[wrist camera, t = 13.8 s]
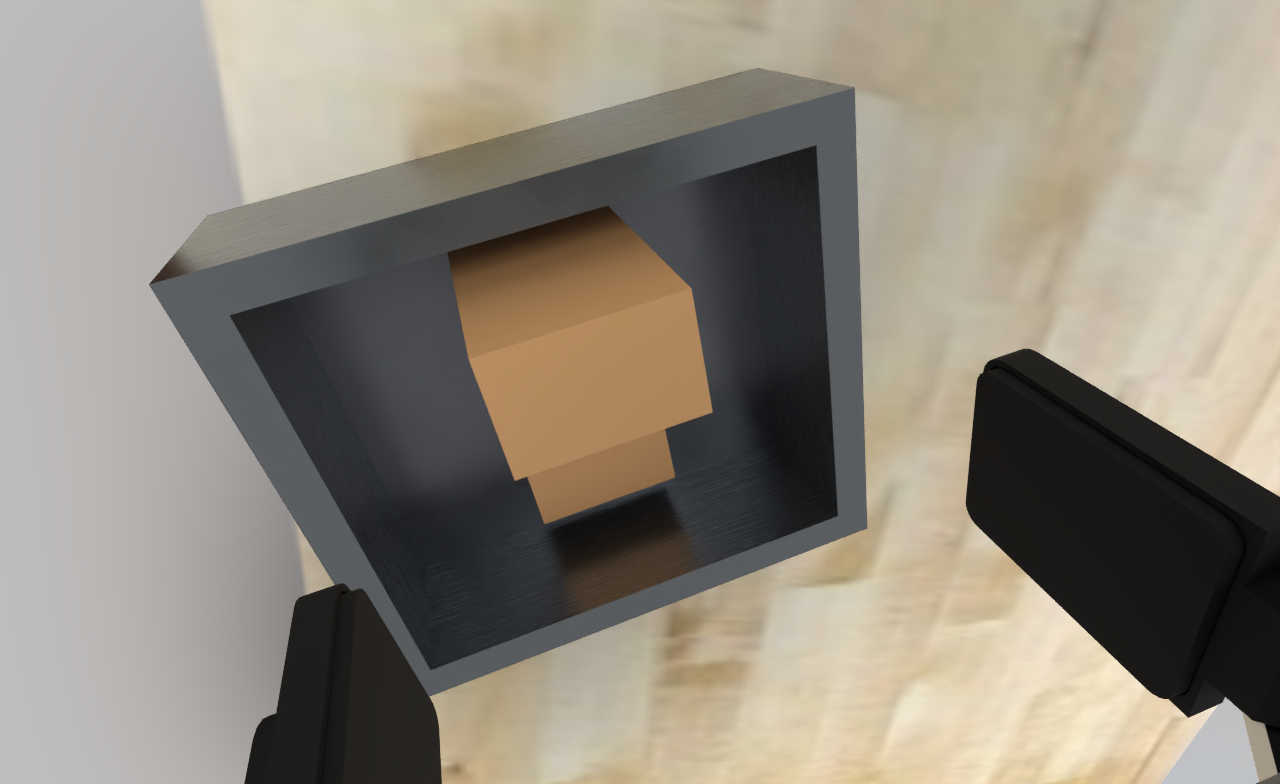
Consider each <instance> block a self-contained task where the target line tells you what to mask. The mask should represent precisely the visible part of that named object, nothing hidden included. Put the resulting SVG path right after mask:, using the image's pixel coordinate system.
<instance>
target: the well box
mask: <svg viewBox="0 0 1280 784" xmlns="http://www.w3.org/2000/svg"><path fill="white" fill-rule="evenodd" d="M604 206H609V207H610V208H611V209H612V210H613V211H614V212H615V213H616V214H617V215H618V216H619V217H620V218H621V219H622V220H623V221H624V222H625V223H626V224H627V225H628V226H629V227H630V228H631V229H632V230H633V231H634V232H635V233H636V234H637V235H638V236H639V237H640V238H641V239H642V240H643V241H644V242H645V243H646V244H647V245H648V246H649V247H650V248H651V249H652V250H653V251H654V252H655V253H656V254H657V255H658V256H659V257H660V258H661V259H662V260H663V261H664V262H665V263H666V264H667V265H668V266H669V267H670V268H671V269H672V270H673V271H674V272H675V273H676V274H677V275H678V276H679V277H680V278H681V279H682V280H683V281H684V282H685V283H686V284H687V285H688V286H689V287H690V288H691V289H692V294H693V300H694V306H695V311H696V317H697V323H698V329H699V335H700V341H701V346H702V352H703V358H704V364H705V370H706V376H707V381H708V387H709V393H710V399H711V405H712V411H713V412H712V413H709V414H706V415H703V416H701V417H698V418H695V419H692V420H689V421H686V422H683V423H680V424H677V425H675V426H672V427H669V428H666V429H665V432H666V437H667V441H668V446H669V450H670V455H671V459H672V464H673V468H674V473H675V478H672V479H669V480H667V481H664V482H661V483H658V484H655V485H653V486H650V487H647V488H644V489H641V490H639V491H636V492H633V493H630V494H627V495H625V496H622V497H619V498H616V499H614V500H611V501H608V502H605V503H602V504H600V505H597V506H594V507H591V508H588V509H586V510H583V511H580V512H577V513H574V514H572V515H569V516H566V517H563V518H560V519H558V520H555V521H552V522H549V523H546V524H544V521H543V518H542V516H541V513H540V510H539V507H538V505H537V502H536V499H535V497H534V494H533V491H532V488H531V486H530V483H529V480H528V477H524V478H521V479H519V480H516V481H515V480H514V477H513V475H512V472H511V469H510V467H509V464H508V461H507V459H506V456H505V454H504V451H503V448H502V446H501V443H500V440H499V438H498V435H497V433H496V430H495V427H494V425H493V422H492V419H491V417H490V414H489V411H488V409H487V406H486V404H485V401H484V398H483V396H482V393H481V390H480V388H479V385H478V383H477V380H476V377H475V375H474V372H473V369H472V367H471V364H470V361H469V358H468V353H467V348H466V343H465V339H464V334H463V329H462V324H461V319H460V314H459V309H458V304H457V299H456V294H455V289H454V284H453V279H452V274H451V269H450V264H449V259H448V254H447V252H449V251H453V250H456V249H460V248H463V247H467V246H470V245H473V244H477V243H480V242H484V241H487V240H491V239H494V238H498V237H501V236H504V235H508V234H511V233H515V232H518V231H522V230H525V229H529V228H532V227H536V226H539V225H542V224H546V223H549V222H553V221H556V220H560V219H563V218H567V217H570V216H573V215H577V214H580V213H584V212H587V211H591V210H594V209H598V208H601V207H604ZM149 285H150V287H151V288H152V290H153V292H154V293H155V295H156V296H157V298H158V300H159V301H160V303H161V305H162V306H163V308H164V310H165V311H166V313H167V314H168V316H169V318H170V319H171V320H172V322H173V324H174V326H175V327H176V329H177V331H178V332H179V334H180V335H181V337H182V338H183V340H184V342H185V343H186V345H187V347H188V348H189V350H190V352H191V353H192V355H193V356H194V357H195V360H196V361H197V363H198V364H199V366H200V367H201V369H202V371H203V372H204V374H205V376H206V377H207V379H208V381H209V382H210V384H211V385H212V387H213V389H214V390H215V392H216V394H217V395H218V397H219V398H220V400H221V402H222V403H223V405H224V406H225V408H226V410H227V411H228V413H229V414H230V416H231V418H232V419H233V421H234V422H235V424H236V426H237V427H238V429H239V431H240V432H241V434H242V436H243V437H244V439H245V440H246V442H247V443H248V445H249V447H250V448H251V450H252V451H253V453H254V455H255V456H256V458H257V460H258V461H259V463H260V465H261V466H262V467H263V469H264V471H265V473H266V474H267V476H268V478H269V479H270V481H271V482H272V484H273V486H274V487H275V489H276V490H277V492H278V494H279V495H280V497H281V498H282V500H283V502H284V503H285V505H286V507H287V508H288V510H289V511H290V513H291V515H292V516H293V518H294V520H295V521H296V523H297V524H298V526H299V528H300V529H301V531H302V532H303V534H304V536H305V537H306V539H307V540H308V542H309V544H310V545H311V547H312V549H313V550H314V552H315V553H316V555H317V557H318V558H319V560H320V561H321V563H322V565H323V566H324V568H325V570H326V571H327V573H328V574H329V576H330V578H331V579H332V581H333V582H334V584H335V585H337V584H341V583H344V584H345V585H347V586H348V588H349V589H350V590H351V591H353V590H356V589H359V588H362V589H363V590H364V591H365V592H366V593H367V595H368V596H369V598H370V600H371V601H372V603H373V605H374V606H375V608H376V610H377V611H378V613H379V615H380V616H381V618H382V620H383V621H384V623H385V625H386V626H387V628H388V630H389V631H390V633H391V635H392V636H393V638H394V639H395V641H396V643H397V644H398V646H399V648H400V649H401V651H402V653H403V654H404V656H405V658H406V659H407V661H408V663H409V664H410V666H411V668H412V669H413V671H414V673H415V674H416V676H417V678H418V679H419V681H420V683H421V684H422V686H423V687H424V689H425V691H426V692H427V694H428V696H432V695H435V694H437V693H440V692H442V691H445V690H448V689H450V688H453V687H455V686H458V685H461V684H463V683H466V682H468V681H471V680H474V679H476V678H479V677H481V676H484V675H487V674H489V673H492V672H494V671H497V670H500V669H502V668H505V667H507V666H510V665H513V664H515V663H518V662H520V661H523V660H526V659H528V658H531V657H533V656H536V655H539V654H541V653H544V652H546V651H549V650H552V649H554V648H557V647H559V646H562V645H565V644H567V643H570V642H572V641H575V640H578V639H580V638H583V637H585V636H588V635H591V634H593V633H596V632H599V631H601V630H604V629H606V628H609V627H612V626H614V625H617V624H619V623H622V622H625V621H627V620H630V619H632V618H635V617H638V616H640V615H643V614H645V613H648V612H651V611H653V610H656V609H658V608H661V607H664V606H666V605H669V604H671V603H674V602H677V601H679V600H682V599H684V598H687V597H690V596H692V595H695V594H697V593H700V592H703V591H705V590H708V589H710V588H713V587H716V586H718V585H721V584H723V583H726V582H729V581H731V580H734V579H736V578H739V577H742V576H744V575H747V574H749V573H752V572H755V571H757V570H760V569H762V568H765V567H768V566H770V565H773V564H775V563H778V562H781V561H783V560H786V559H789V558H791V557H794V556H796V555H799V554H802V553H804V552H807V551H809V550H812V549H815V548H817V547H820V546H822V545H825V544H828V543H830V542H833V541H835V540H838V539H841V538H843V537H846V536H848V535H851V534H854V533H856V532H859V531H861V530H864V529H867V507H866V472H865V437H864V402H863V367H862V333H861V298H860V263H859V228H858V193H857V158H856V123H855V88H854V87H849V86H844V85H839V84H834V83H830V82H825V81H820V80H815V79H810V78H805V77H800V76H795V75H790V74H785V73H780V72H775V71H770V70H765V69H760V68H756V69H752V70H749V71H745V72H741V73H737V74H734V75H730V76H726V77H722V78H719V79H715V80H711V81H708V82H704V83H700V84H696V85H693V86H689V87H685V88H681V89H678V90H674V91H670V92H667V93H663V94H659V95H655V96H652V97H648V98H644V99H640V100H637V101H633V102H629V103H626V104H622V105H618V106H614V107H611V108H607V109H603V110H600V111H596V112H592V113H588V114H585V115H581V116H577V117H573V118H570V119H566V120H562V121H559V122H555V123H551V124H547V125H544V126H540V127H536V128H532V129H529V130H525V131H521V132H518V133H514V134H510V135H506V136H503V137H499V138H495V139H491V140H488V141H484V142H480V143H477V144H473V145H469V146H465V147H462V148H458V149H454V150H450V151H447V152H443V153H439V154H436V155H432V156H428V157H424V158H421V159H417V160H413V161H409V162H406V163H402V164H398V165H395V166H391V167H387V168H383V169H380V170H376V171H372V172H368V173H365V174H361V175H357V176H354V177H350V178H346V179H342V180H339V181H335V182H331V183H327V184H324V185H320V186H316V187H313V188H309V189H305V190H301V191H298V192H294V193H290V194H287V195H283V196H279V197H275V198H272V199H268V200H264V201H260V202H257V203H253V204H249V205H246V206H242V207H238V208H235V209H231V210H227V211H223V212H219V213H216V214H212V215H208V216H207V217H206V218H205V219H204V220H203V222H202V223H201V224H200V225H199V226H198V228H197V229H196V230H195V231H194V232H193V233H192V235H191V236H190V237H189V238H188V239H187V240H186V242H185V243H184V244H183V245H182V246H181V247H180V249H179V250H178V251H177V252H176V254H175V255H174V256H173V257H172V258H171V259H170V260H169V262H168V263H167V264H166V265H165V266H164V267H163V269H162V270H161V271H160V272H159V273H158V274H157V276H156V277H155V278H154V279H153V280H152V282H151V283H150V284H149Z"/></svg>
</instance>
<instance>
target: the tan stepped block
mask: <svg viewBox="0 0 1280 784" xmlns="http://www.w3.org/2000/svg"><path fill="white" fill-rule="evenodd" d="M447 254H448V259H449V264H450V269H451V274H452V279H453V284H454V289H455V294H456V299H457V304H458V309H459V314H460V319H461V324H462V329H463V334H464V339H465V343H466V348H467V353H468V358H469V361H470V364H471V367H472V369H473V372H474V375H475V377H476V380H477V383H478V385H479V388H480V390H481V393H482V396H483V398H484V401H485V404H486V406H487V409H488V411H489V414H490V417H491V419H492V422H493V425H494V427H495V430H496V433H497V435H498V438H499V440H500V443H501V446H502V448H503V451H504V454H505V456H506V459H507V461H508V464H509V467H510V469H511V472H512V475H513V477H514V480H515V481H516V480H519V479H521V478H524V477H528V480H529V483H530V486H531V488H532V491H533V494H534V497H535V499H536V502H537V505H538V507H539V510H540V513H541V516H542V518H543V521H544V524H546V523H549V522H552V521H555V520H558V519H560V518H563V517H566V516H569V515H572V514H574V513H577V512H580V511H583V510H586V509H588V508H591V507H594V506H597V505H600V504H602V503H605V502H608V501H611V500H614V499H616V498H619V497H622V496H625V495H627V494H630V493H633V492H636V491H639V490H641V489H644V488H647V487H650V486H653V485H655V484H658V483H661V482H664V481H667V480H669V479H672V478H675V473H674V468H673V464H672V459H671V455H670V450H669V446H668V441H667V437H666V432H665V429H666V428H669V427H672V426H675V425H677V424H680V423H683V422H686V421H689V420H692V419H695V418H698V417H701V416H703V415H706V414H709V413H712V412H713V411H712V405H711V399H710V393H709V387H708V381H707V376H706V370H705V364H704V358H703V352H702V346H701V341H700V335H699V329H698V323H697V317H696V311H695V306H694V300H693V294H692V289H691V288H690V287H689V286H688V285H687V284H686V283H685V282H684V281H683V280H682V279H681V278H680V277H679V276H678V275H677V274H676V273H675V272H674V271H673V270H672V269H671V268H670V267H669V266H668V265H667V264H666V263H665V262H664V261H663V260H662V259H661V258H660V257H659V256H658V255H657V254H656V253H655V252H654V251H653V250H652V249H651V248H650V247H649V246H648V245H647V244H646V243H645V242H644V241H643V240H642V239H641V238H640V237H639V236H638V235H637V234H636V233H635V232H634V231H633V230H632V229H631V228H630V227H629V226H628V225H627V224H626V223H625V222H624V221H623V220H622V219H621V218H620V217H619V216H618V215H617V214H616V213H615V212H614V211H613V210H612V209H611V208H610V207H609V206H604V207H601V208H598V209H594V210H591V211H587V212H584V213H580V214H577V215H573V216H570V217H567V218H563V219H560V220H556V221H553V222H549V223H546V224H542V225H539V226H536V227H532V228H529V229H525V230H522V231H518V232H515V233H511V234H508V235H504V236H501V237H498V238H494V239H491V240H487V241H484V242H480V243H477V244H473V245H470V246H467V247H463V248H460V249H456V250H453V251H449V252H447Z"/></svg>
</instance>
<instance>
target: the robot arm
mask: <svg viewBox="0 0 1280 784" xmlns="http://www.w3.org/2000/svg"><path fill="white" fill-rule="evenodd" d="M966 507H967V511H968V513H969V515H970V517H971V519H972V520H973V522H974V523H975V524H976V525H977V526H978V527H979V528H980V529H981V530H982V531H983V532H984V533H985V534H986V535H987V536H988V537H989V538H990V539H991V540H992V541H993V542H994V543H995V544H996V545H997V546H998V547H1000V548H1001V549H1002V550H1003V551H1004V552H1005V553H1006V554H1007V555H1008V556H1009V557H1010V558H1011V559H1012V560H1013V561H1014V562H1015V563H1016V564H1017V565H1018V566H1019V567H1020V568H1021V569H1022V570H1023V571H1024V572H1026V573H1027V574H1028V575H1029V576H1030V577H1031V578H1032V579H1033V580H1034V581H1035V582H1036V583H1037V584H1038V585H1039V586H1040V587H1041V588H1042V589H1043V590H1044V591H1045V592H1046V593H1047V594H1048V595H1049V596H1051V597H1052V598H1053V599H1054V600H1055V601H1056V602H1057V603H1058V604H1059V605H1060V606H1061V607H1062V608H1063V609H1064V610H1065V611H1066V612H1067V613H1068V614H1069V615H1070V616H1071V617H1072V618H1073V619H1074V620H1075V621H1077V622H1078V623H1079V624H1080V625H1081V626H1082V627H1083V628H1084V629H1085V630H1086V631H1087V632H1088V633H1089V634H1090V635H1091V636H1092V637H1093V638H1094V639H1095V640H1096V641H1097V642H1098V643H1099V644H1100V645H1101V646H1103V647H1104V648H1105V649H1106V650H1107V651H1108V652H1109V653H1110V654H1111V655H1112V656H1113V657H1114V658H1115V659H1116V660H1117V661H1118V662H1119V663H1120V664H1121V665H1122V666H1123V667H1124V668H1125V669H1126V670H1127V671H1129V672H1130V673H1131V674H1132V675H1133V676H1134V677H1135V678H1136V679H1137V680H1138V681H1139V682H1140V683H1141V684H1142V685H1143V686H1144V687H1145V688H1146V689H1147V690H1149V691H1150V692H1151V693H1152V694H1154V695H1156V696H1157V697H1159V698H1163V699H1169V700H1170V701H1171V702H1172V703H1173V704H1174V705H1175V706H1176V707H1178V708H1179V709H1180V710H1181V711H1182V712H1183V713H1184V714H1185V715H1186V716H1187V717H1188V718H1189V717H1191V716H1193V715H1196V714H1198V713H1200V712H1202V711H1205V710H1207V709H1209V708H1211V707H1214V706H1216V705H1218V704H1220V703H1222V702H1223V700H1224V698H1225V697H1226V698H1227V699H1229V700H1230V701H1231V702H1232V703H1233V704H1234V705H1235V706H1236V707H1238V708H1239V709H1240V710H1241V711H1242V712H1243V717H1244V721H1245V725H1246V729H1247V733H1248V737H1249V741H1250V745H1251V750H1252V753H1253V758H1254V762H1255V766H1256V770H1257V774H1258V778H1259V783H1256V784H1280V497H1279V496H1277V495H1276V494H1274V493H1272V492H1270V491H1269V490H1267V489H1265V488H1264V487H1262V486H1260V485H1259V484H1257V483H1255V482H1254V481H1252V480H1250V479H1249V478H1247V477H1245V476H1244V475H1242V474H1240V473H1239V472H1237V471H1235V470H1234V469H1232V468H1230V467H1229V466H1227V465H1225V464H1224V463H1222V462H1220V461H1219V460H1217V459H1215V458H1214V457H1212V456H1210V455H1209V454H1207V453H1205V452H1204V451H1202V450H1200V449H1199V448H1197V447H1195V446H1193V445H1192V444H1190V443H1188V442H1187V441H1185V440H1183V439H1182V438H1180V437H1178V436H1177V435H1175V434H1173V433H1172V432H1170V431H1168V430H1167V429H1165V428H1163V427H1162V426H1160V425H1158V424H1157V423H1155V422H1153V421H1152V420H1150V419H1148V418H1147V417H1145V416H1143V415H1142V414H1140V413H1138V412H1137V411H1135V410H1133V409H1132V408H1130V407H1128V406H1127V405H1125V404H1123V403H1121V402H1120V401H1118V400H1116V399H1115V398H1113V397H1111V396H1110V395H1108V394H1106V393H1105V392H1103V391H1101V390H1100V389H1098V388H1096V387H1095V386H1093V385H1091V384H1090V383H1088V382H1086V381H1085V380H1083V379H1081V378H1080V377H1078V376H1076V375H1075V374H1073V373H1071V372H1070V371H1068V370H1066V369H1065V368H1063V367H1061V366H1060V365H1058V364H1056V363H1055V362H1053V361H1051V360H1050V359H1048V358H1046V357H1044V356H1043V355H1041V354H1039V353H1038V352H1036V351H1034V350H1031V349H1021V350H1018V351H1016V352H1013V353H1010V354H1007V355H1004V356H1001V357H998V358H995V359H992V360H990V361H988V363H987V364H986V365H985V367H984V371H983V373H982V374H980V376H979V377H978V380H977V386H976V397H975V408H974V419H973V429H972V440H971V451H970V462H969V473H968V484H967V494H966ZM245 784H442V779H441V759H440V739H439V724H438V719H437V714H436V711H435V708H434V705H433V703H432V701H431V699H430V697H429V696H428V694H427V692H426V691H425V689H424V687H423V686H422V684H421V683H420V681H419V679H418V678H417V676H416V674H415V673H414V671H413V669H412V668H411V666H410V664H409V663H408V661H407V659H406V658H405V656H404V654H403V653H402V651H401V649H400V648H399V646H398V644H397V643H396V641H395V639H394V638H393V636H392V635H391V633H390V631H389V630H388V628H387V626H386V625H385V623H384V621H383V620H382V618H381V616H380V615H379V613H378V611H377V610H376V608H375V606H374V605H373V603H372V601H371V600H370V598H369V596H368V595H367V593H366V592H365V591H364V590H363V589H362V588H359V589H356V590H353V591H351V590H350V589H349V588H348V586H347V585H345V584H344V583H341V584H337V585H334V586H331V587H328V588H326V589H323V590H320V591H317V592H314V593H311V594H308V595H305V596H302V597H300V598H298V600H297V601H296V603H295V607H294V612H293V618H292V623H291V629H290V636H289V641H288V647H287V653H286V659H285V665H284V671H283V677H282V683H281V688H280V694H279V700H278V706H277V713H276V714H273V715H270V716H268V717H266V718H264V719H263V720H262V721H261V723H260V724H259V725H258V727H257V729H256V732H255V735H254V738H253V742H252V747H251V753H250V758H249V763H248V768H247V773H246V779H245Z"/></svg>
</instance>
